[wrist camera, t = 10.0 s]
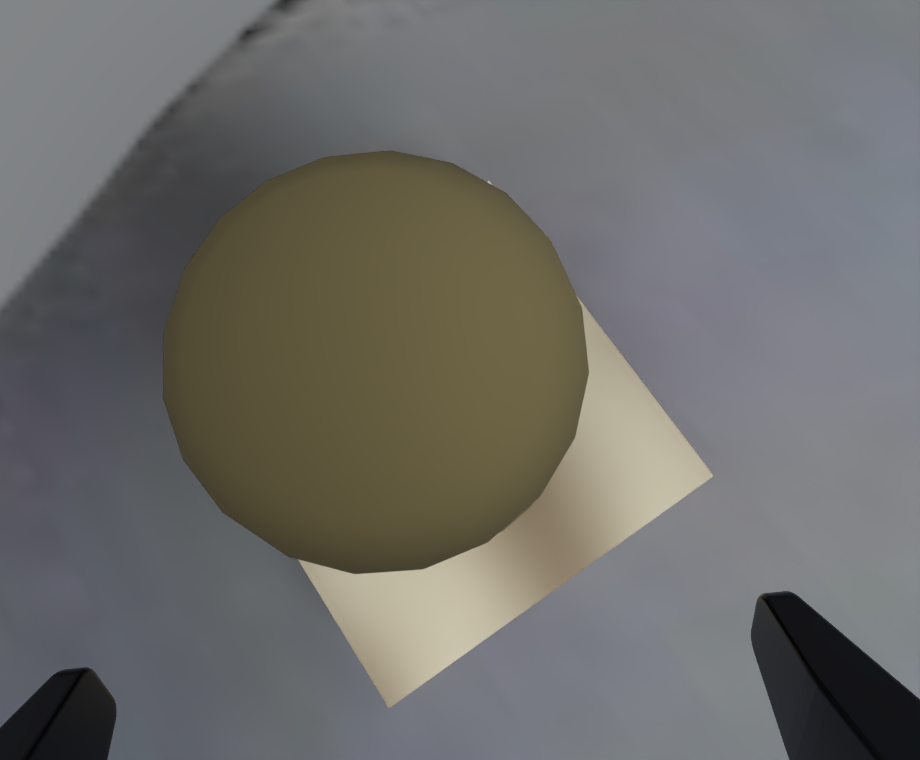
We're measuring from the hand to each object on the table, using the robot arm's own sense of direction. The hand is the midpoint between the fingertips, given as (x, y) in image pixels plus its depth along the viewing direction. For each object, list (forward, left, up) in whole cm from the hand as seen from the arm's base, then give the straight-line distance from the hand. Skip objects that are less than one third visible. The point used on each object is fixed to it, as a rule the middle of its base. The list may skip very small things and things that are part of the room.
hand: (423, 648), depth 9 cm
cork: (+2, +3, -8) cm, 9 cm away
